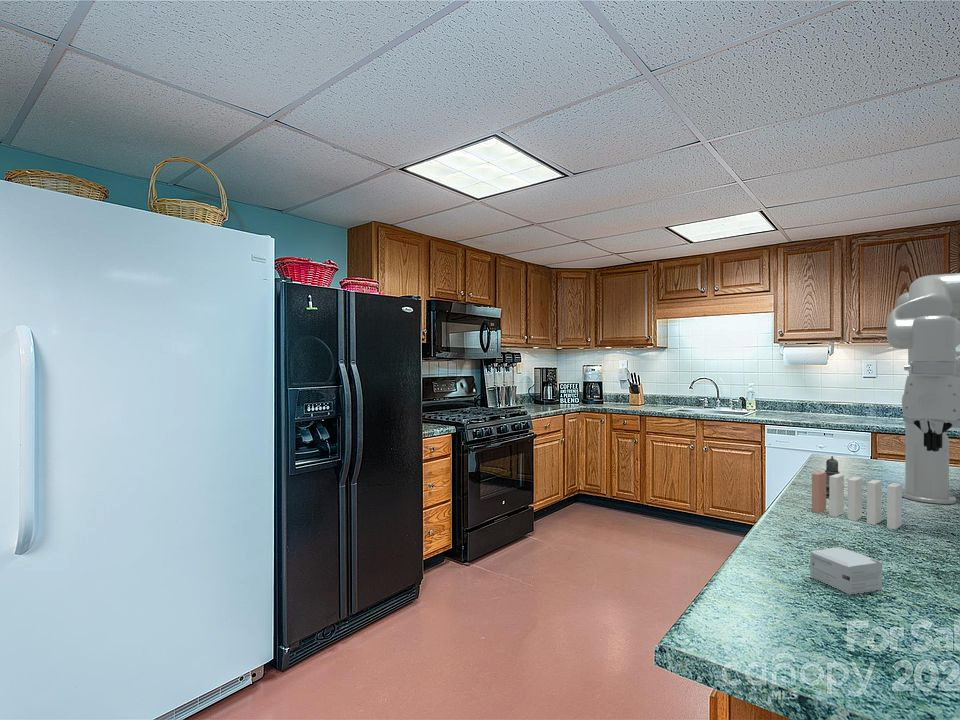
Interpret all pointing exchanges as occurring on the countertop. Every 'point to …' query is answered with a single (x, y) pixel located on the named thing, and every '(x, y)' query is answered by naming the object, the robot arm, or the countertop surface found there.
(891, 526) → the domino
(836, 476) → the domino
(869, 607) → the countertop surface
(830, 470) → the dark grey ornamental finial
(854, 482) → the domino
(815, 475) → the end domino
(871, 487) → the domino
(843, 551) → the small box
